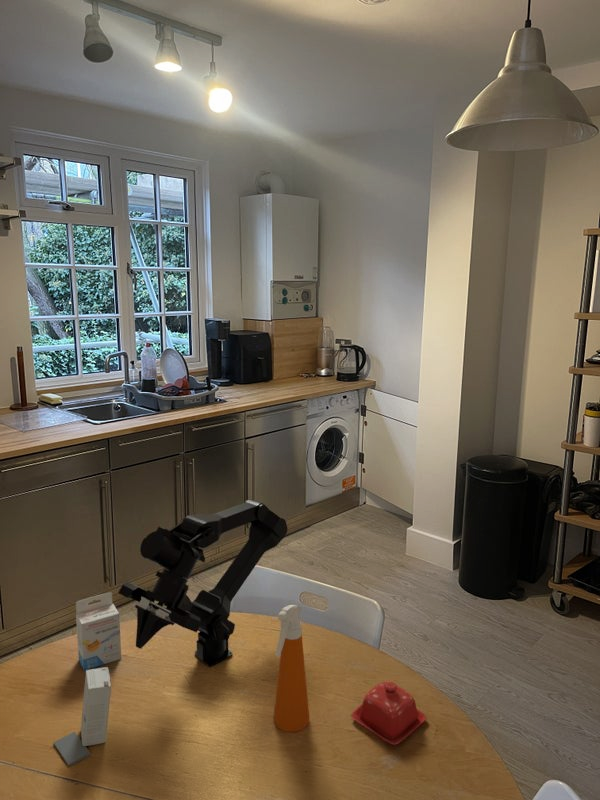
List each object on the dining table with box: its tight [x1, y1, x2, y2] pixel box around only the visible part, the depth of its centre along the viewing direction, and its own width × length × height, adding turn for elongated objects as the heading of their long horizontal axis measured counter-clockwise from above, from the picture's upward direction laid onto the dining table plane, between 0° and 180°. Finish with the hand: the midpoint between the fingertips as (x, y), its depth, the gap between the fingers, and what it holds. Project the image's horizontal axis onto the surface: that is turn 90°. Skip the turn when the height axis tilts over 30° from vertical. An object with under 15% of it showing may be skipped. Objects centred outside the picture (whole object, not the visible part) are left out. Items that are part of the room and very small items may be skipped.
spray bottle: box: [273, 604, 310, 733], centre depth 114 cm, size 7×11×26 cm, turn 158°
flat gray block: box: [53, 731, 91, 767], centre depth 110 cm, size 4×7×1 cm, turn 43°
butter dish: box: [350, 681, 427, 746], centre depth 118 cm, size 12×12×8 cm
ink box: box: [75, 591, 122, 672], centre depth 135 cm, size 8×5×15 cm, turn 123°
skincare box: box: [80, 666, 112, 747], centre depth 113 cm, size 6×4×12 cm
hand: (138, 647), depth 120 cm, fingers closed
